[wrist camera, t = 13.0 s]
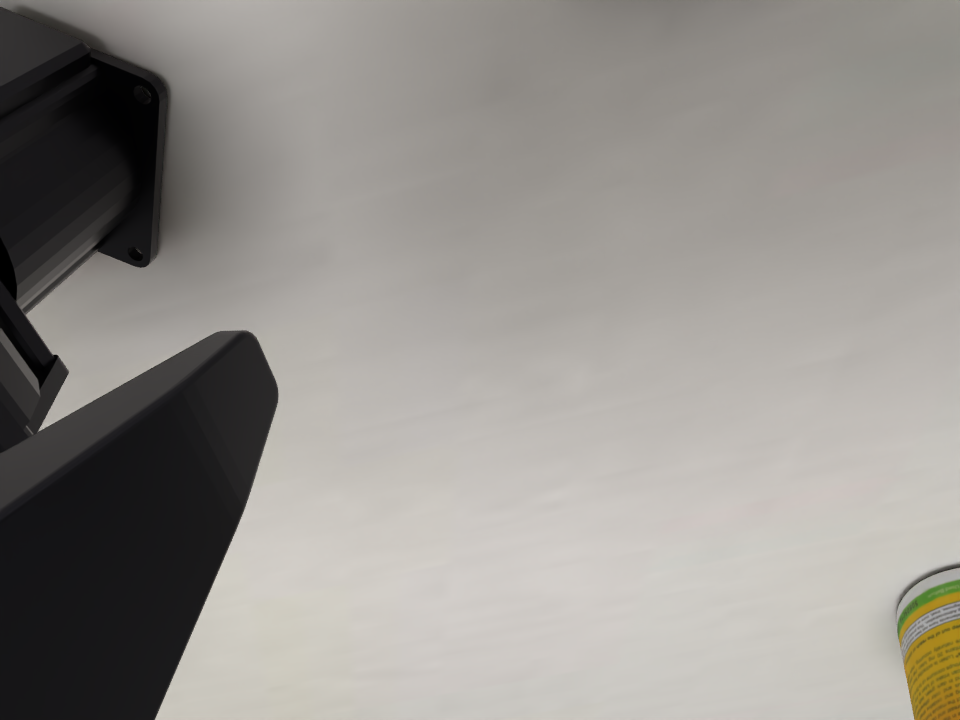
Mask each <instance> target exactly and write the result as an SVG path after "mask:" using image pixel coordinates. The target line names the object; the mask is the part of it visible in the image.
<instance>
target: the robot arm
mask: <svg viewBox="0 0 960 720" xmlns="http://www.w3.org/2000/svg"><path fill="white" fill-rule="evenodd" d="M141 86H143V87H145V88H146V89H147V90H148V91H149V93H150V95H151V98H149V97H147V96H146V95H145V94H144V93H143V91H142V88H141ZM166 107H167V91H166V88H165V86H164V84H163V82H162V81H161V80H160V79H159V78H158V77H157V76H155V75H154V74H152V73H150V72H148V71H145V70H143V69H140V68H138V67H135V66H133V65H131V64H128V63H126V62H123V61H121V60H118V59H116V58H114V57H111V56H109V55H106V54H104V53H101V52H99V51H96V50H94V49H92V48H89V47H88V46H87V45H86V44H85V43H84V42H83V41H82V40H80V39H77V38H75V37H72V36H70V35H67V34H65V33H63V32H60V31H58V30H55V29H53V28H50V27H48V26H46V25H43V24H41V23H38V22H36V21H33V20H31V19H29V18H26V17H24V16H21V15H19V14H16V13H14V12H11V11H9V10H7V9H4V8H2V7H0V720H155V718H156V716H157V713H158V711H159V709H160V706H161V704H162V702H163V699H164V697H165V695H166V692H167V690H168V688H169V685H170V683H171V681H172V678H173V676H174V674H175V671H176V669H177V667H178V664H179V662H180V660H181V657H182V655H183V653H184V650H185V648H186V646H187V643H188V641H189V639H190V636H191V634H192V632H193V630H194V627H195V625H196V623H197V620H198V618H199V616H200V613H201V611H202V609H203V606H204V604H205V602H206V599H207V597H208V595H209V592H210V590H211V588H212V585H213V583H214V581H215V578H216V576H217V574H218V571H219V569H220V567H221V564H222V562H223V560H224V557H225V555H226V553H227V550H228V548H229V546H230V543H231V541H232V539H233V536H234V534H235V532H236V529H237V527H238V524H239V522H240V519H241V517H242V514H243V512H244V509H245V506H246V503H247V500H248V497H249V495H250V492H251V488H252V485H253V482H254V479H255V476H256V472H257V469H258V466H259V463H260V459H261V456H262V453H263V450H264V446H265V443H266V440H267V437H268V433H269V430H270V427H271V424H272V420H273V417H274V414H275V411H276V407H277V403H278V387H277V383H276V380H275V378H274V376H273V374H272V371H271V369H270V367H269V365H268V362H267V360H266V358H265V355H264V353H263V351H262V349H261V346H260V344H259V342H258V340H257V338H256V337H255V336H254V335H253V334H252V333H251V332H248V331H245V330H241V331H220V332H216V333H214V334H212V335H210V336H208V337H207V338H205V339H203V340H201V341H200V342H198V343H196V344H194V345H192V346H191V347H189V348H187V349H185V350H184V351H182V352H180V353H178V354H176V355H175V356H173V357H171V358H169V359H167V360H166V361H164V362H162V363H160V364H159V365H157V366H155V367H153V368H151V369H150V370H148V371H146V372H144V373H143V374H141V375H139V376H137V377H135V378H134V379H132V380H130V381H128V382H127V383H125V384H123V385H121V386H119V387H118V388H116V389H114V390H112V391H111V392H109V393H107V394H105V395H103V396H102V397H100V398H98V399H96V400H94V401H93V402H91V403H89V404H87V405H86V406H84V407H82V408H80V409H78V410H77V411H75V412H73V413H71V414H70V415H68V416H66V417H64V418H62V419H61V420H59V421H57V422H55V423H54V424H52V425H50V426H48V427H46V428H45V429H43V430H41V431H39V432H38V430H39V428H40V427H41V425H42V423H43V421H44V419H45V417H46V415H47V413H48V411H49V409H50V408H51V406H52V404H53V402H54V400H55V398H56V396H57V394H58V392H59V391H60V389H61V387H62V385H63V383H64V381H65V379H66V377H67V375H68V373H69V371H68V370H67V368H66V367H65V365H64V364H63V362H62V361H61V359H60V358H59V356H58V355H53V354H52V353H51V351H50V350H49V349H48V347H47V346H46V344H45V343H44V341H43V340H42V338H41V337H40V336H39V334H38V333H37V331H36V330H35V328H34V327H33V325H32V324H31V322H30V321H29V320H28V318H27V317H26V314H27V313H28V312H29V311H30V310H32V309H33V308H34V307H35V306H36V305H37V304H38V303H39V302H41V301H42V300H43V299H44V298H45V297H46V296H47V295H48V294H50V293H51V292H52V291H53V290H54V289H55V288H56V287H57V286H59V285H60V284H61V283H62V282H63V281H64V280H65V279H66V278H68V277H69V276H70V275H71V274H72V273H73V272H74V271H75V270H77V269H78V268H79V267H80V266H81V265H82V264H83V263H84V262H86V261H87V260H88V259H89V258H90V257H91V256H92V255H93V254H95V253H96V252H97V251H98V252H101V253H103V254H105V255H108V256H110V257H113V258H115V259H118V260H120V261H123V262H125V263H128V264H130V265H133V266H136V267H140V268H142V267H146V266H147V265H149V264H150V263H151V262H152V261H153V260H154V259H155V258H156V255H157V245H158V229H159V214H160V199H161V183H162V168H163V153H164V138H165V122H166ZM135 247H136V248H137V249H139V250H140V251H141V253H142V254H141V253H140V252H138V251H137V250H136V248H135ZM37 432H38V433H37Z"/></svg>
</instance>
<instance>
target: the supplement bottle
mask: <svg viewBox="0 0 960 720" xmlns="http://www.w3.org/2000/svg"><path fill="white" fill-rule="evenodd" d="M896 622H897V630H898V637H899V642H900V648H901V653H902V658H903V663H904V667H905V673H906V678H907V683H908V688H909V694H910V699H911V704H912V709H913V714H914V719H915V720H960V568H956V569H952V570H947V571H944V572H941V573H938V574H935V575H933V576H930V577H928V578H926V579H924V580H922V581H921V582H919V583H918V584H916V585H915V586H914V587H913V588H912V589H910V590H909V591H908V592H907V594H906V595H905V596H904V597H903V599H902V601H901V602H900V604H899V607H898V610H897V616H896Z"/></svg>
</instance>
